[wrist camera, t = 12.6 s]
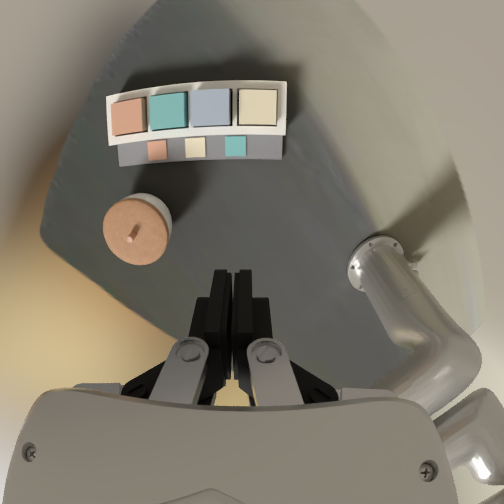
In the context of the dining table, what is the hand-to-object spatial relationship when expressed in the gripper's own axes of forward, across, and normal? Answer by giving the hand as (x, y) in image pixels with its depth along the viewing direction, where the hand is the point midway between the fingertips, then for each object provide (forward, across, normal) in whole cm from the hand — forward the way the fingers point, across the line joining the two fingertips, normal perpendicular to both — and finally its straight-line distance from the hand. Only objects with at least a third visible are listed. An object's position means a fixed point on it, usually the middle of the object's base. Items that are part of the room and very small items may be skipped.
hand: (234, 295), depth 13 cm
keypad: (+32, +7, -7) cm, 33 cm away
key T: (+31, +10, -9) cm, 34 cm away
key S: (+29, +4, -9) cm, 31 cm away
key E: (+31, -2, -9) cm, 33 cm away
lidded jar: (+32, +16, +8) cm, 37 cm away
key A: (+31, +16, -9) cm, 36 cm away
